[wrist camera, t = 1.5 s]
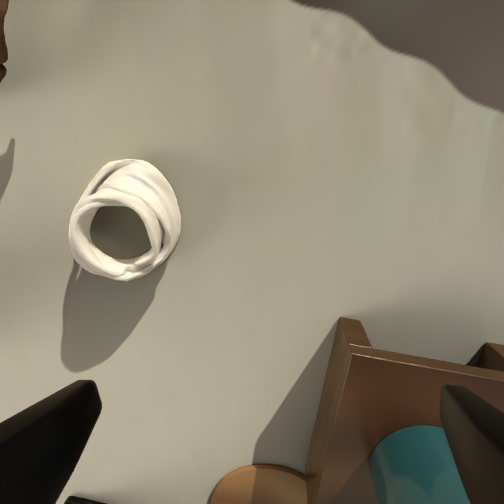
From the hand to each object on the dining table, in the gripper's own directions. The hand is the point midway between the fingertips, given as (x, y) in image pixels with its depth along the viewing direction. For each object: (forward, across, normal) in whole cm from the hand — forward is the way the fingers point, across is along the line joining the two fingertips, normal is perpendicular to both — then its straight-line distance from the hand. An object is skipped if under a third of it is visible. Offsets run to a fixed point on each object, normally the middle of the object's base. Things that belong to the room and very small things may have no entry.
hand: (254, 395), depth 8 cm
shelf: (+13, -7, +13) cm, 20 cm away
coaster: (+12, +3, +23) cm, 26 cm away
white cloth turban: (+14, +10, -2) cm, 17 cm away
